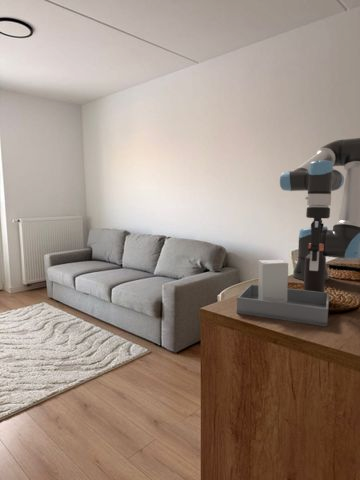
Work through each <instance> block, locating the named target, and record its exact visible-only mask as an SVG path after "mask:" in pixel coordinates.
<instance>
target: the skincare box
mask: <svg viewBox="0 0 360 480" xmlns="http://www.w3.org/2000/svg"><path fill="white" fill-rule="evenodd" d="M288 281H289V262H287V261H286V260H283V259H282V258H281V259H260V260H258V282H257V285H258V300H265V301H272V302H280V303H287V290H288V285H289V283H288Z"/></svg>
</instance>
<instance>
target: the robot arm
mask: <svg viewBox="0 0 360 480" xmlns="http://www.w3.org/2000/svg"><path fill="white" fill-rule="evenodd" d="M334 167H343V169H344V170H345V171H346V174H345V175H346V176H345V177H344V175H343V173H342V172H341V171H339V170H338V169H337V170H336V169H334ZM343 185H344V186H343ZM279 186H280V189H281V190H282V191H288V192H296V191H297V192H298V191H299V192H301V191H303V192H304V191H307V196H305V198H304V199H305V200H307V202H306V205H307V206H308V207H307V208H306V216H305V217H306V218H309V219H313V220H312V222H311V224H310V227H304V228H301V229H300V230H299V234H298V250H297V251H298V253H297V261H296V264H295V267H294V269H293V274H292V277H293V278H295V279H297V280H301V281H304V272H305V257H306V256H307V255H308V254H309V251H310V267H309V270H312V271H318V264H319V243H321V244H324V250H323V252H322V255H323V256H324V257H325V258H337V259H343V260H344V259H345V260H358V259H360V137H356V138H355V137H353V138H348V139H347V138H345V139H337V140H334V141H332V142H329V143H327V144H325V145H323V146H321V147H320V148H319V149H317V150H316V151H315V152H314V154H313V156H311V158H309V159H308V160H306V161H305V162H304V163H302V164H300V166H298V167H297V168H295V169H294V170H292V171H291V170H288V171H283V172H282V173H281V175H280V177H279ZM342 187H343V191H342V197H341V202H340V208H339V209H340V210H339V213H338V220H337V222H336V223H334V224H333V227H332V229H329V228H328V226H324V223H323V220H322V219H329V218H330V217H331V208H330V207H329V206H332V205H331V204H332V192H335V191H338V190H340V189H341V188H342ZM309 243H311V247H310V248H309ZM329 276H330V272H329V269H328V267H327V265H326V267H325V282H326V281H328V280H329V279H330V277H329Z"/></svg>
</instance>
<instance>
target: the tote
mask: <svg viewBox="0 0 360 480" xmlns="http://www.w3.org/2000/svg"><path fill="white" fill-rule="evenodd" d="M329 300H330V293H329V292H325V291H324V292H316V291H307V290H304V289H299V288H298V289H296V288H288V290H287V303H280V302H272V301H265V300H258V284H252V283H250V284H249V285H248V286H247V287H246V288H245V289H244V290H243V291H242V292H241V293H240V294H239V295H238V296H237V297H236V313H237V314H242V315H247V316H255V317H261V318H267V319H268V318H269V319H275V320H281V321H288V322H295V323H301V324H308V325H315V326H321V327H328V321H329V317H328V316H329V304H330V303H329V302H330V301H329Z"/></svg>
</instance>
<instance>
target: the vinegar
mask: <svg viewBox="0 0 360 480" xmlns="http://www.w3.org/2000/svg"><path fill="white" fill-rule="evenodd" d="M310 247H311V243H309V248H310ZM323 250H324V244H321V243H319V264H318V271H312V270H309V267H310V251H309V254H308V255H307V256H306V257H305V272H304V280H303V290H307V291H316V292H325V282H326V281H325V267H326V266H327V259H326V258H327V257H326V258H325V257H324V256H323V255H322V252H323Z"/></svg>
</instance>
